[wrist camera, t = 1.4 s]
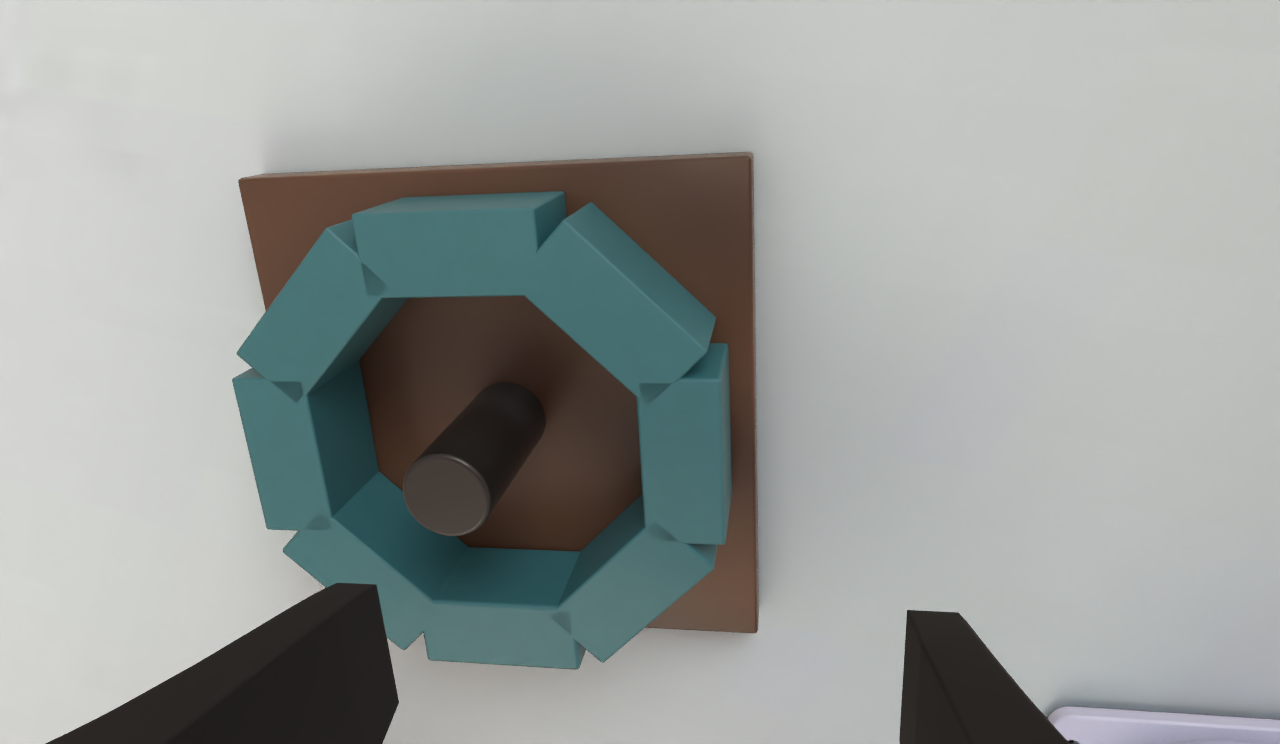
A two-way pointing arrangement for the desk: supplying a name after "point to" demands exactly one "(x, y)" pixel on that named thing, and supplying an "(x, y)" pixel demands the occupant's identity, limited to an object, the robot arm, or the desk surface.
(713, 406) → the hoop
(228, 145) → the desk surface
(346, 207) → the peg stand
